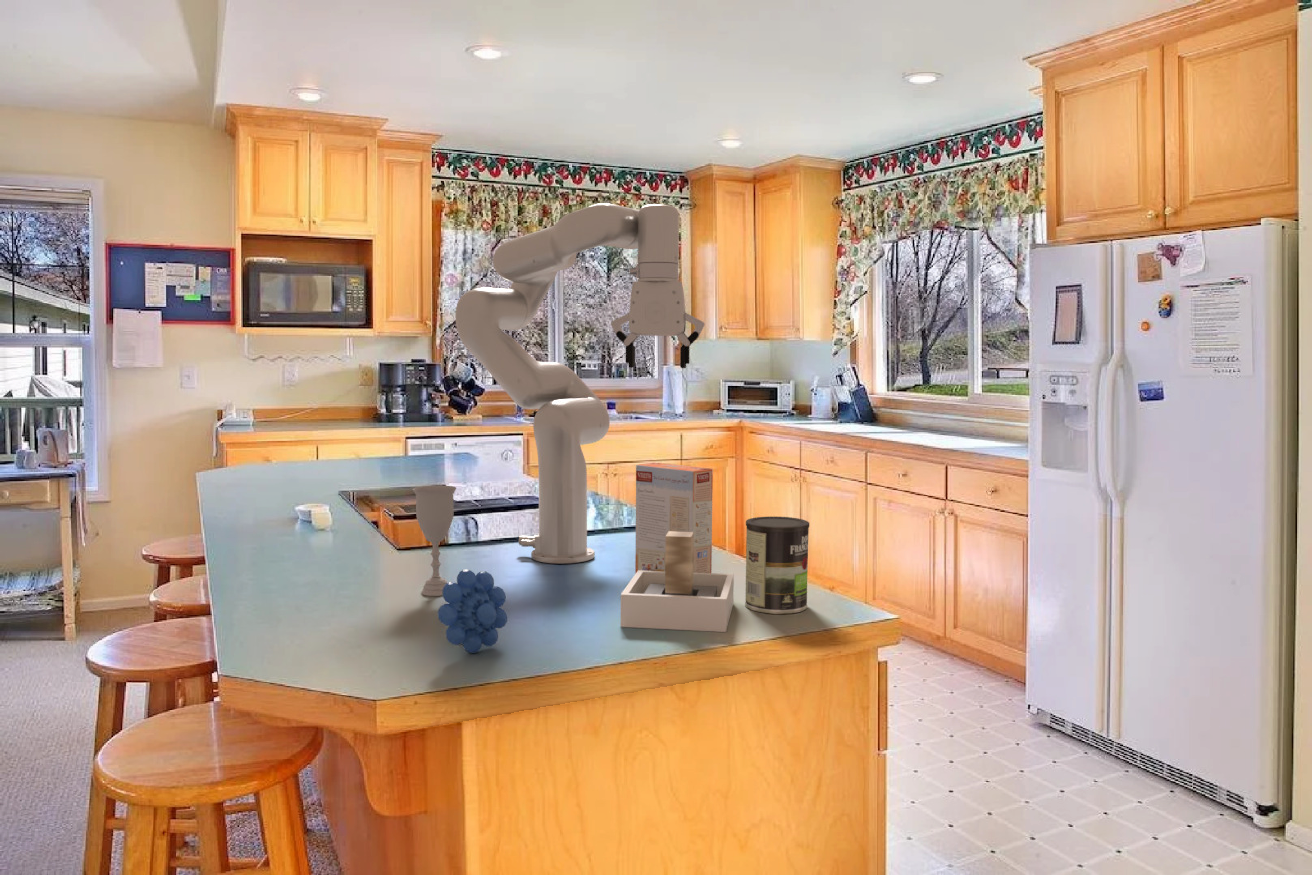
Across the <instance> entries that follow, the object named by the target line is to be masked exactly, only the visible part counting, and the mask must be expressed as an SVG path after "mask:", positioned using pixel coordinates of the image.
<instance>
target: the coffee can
mask: <svg viewBox="0 0 1312 875" xmlns="http://www.w3.org/2000/svg"><path fill="white" fill-rule="evenodd" d="M745 526H746V537H745V538H746V540H745V541H746V544H745V545H746V546H745V602H744V606H745V607H746V608H747V609H749V610H751V611H754V612H757V613H763V614H770V615H771V614H772V615H790V614H796V613H801V612H803V611H806V609H807V608H808V574H809V572H808V568H809V565H808V564H809V562H808V561H809V531H810V529H809V528H810V522H809V521H808V520H805V519H802V518H797V517H792V516H791V517H790V516H789V517H788V516H758V517H757V516H756V517H753V518H752V517H751V518H747V519H746V521H745Z"/></svg>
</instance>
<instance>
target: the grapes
mask: <svg viewBox="0 0 1312 875" xmlns="http://www.w3.org/2000/svg"><path fill="white" fill-rule="evenodd" d="M442 593H443V595H442V597H443V600H444V601H445V602H447V603H444V604H442V605H440V607H439V609H438V611H437V616H438V618H437V619H438V621H439V622H440V624H443V625H444V626H447V627H446V628H447V629H446V630H445V635H446V636H445V637H446V640H447V641H448V643H450V644H451V645H453V646H460V645H462V647H463V649H464V650H465V651H466V652H468V653H469V654H476V653H478V652H479V651H480V650H481V648H482V646H486V647H493V646H494V645H496V644H497V642H498V640H499V631H498V630H497V629H502V628H504V627H505V626H506V624H508V613H507V612H506V611H505V609H504V608H501V607H502V606H503V605H504V604H505V603H506V601H507V597H506V596H507V595H506V592H505V591H504V589H503V588H501V587H500V586H497V585H496V586H495V579H494V577H493V576H492V574H491V573H490V572H487V571H485V570H482V571H479V572H477V573H476V574H475V572H474V571H472V570H470V569H462V570H461V571H459V573H458V574H457V576H456V582H455V581H454V582H453V581H451V582H450V581H448V582H447V584H445V586H444V588H443V590H442Z"/></svg>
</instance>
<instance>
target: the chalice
mask: <svg viewBox="0 0 1312 875" xmlns="http://www.w3.org/2000/svg"><path fill="white" fill-rule="evenodd" d="M456 490H457V486H453V485H423V486H417V487H414V488H412V491H413V493H414V495H415V507H416V508H415V510H416V511H415V513H416V519H417V522H418V525H419V528H420V530H421V532H422V533H423V536H424V538H425V539H426V541H427V542H430V543H431V544H432V551H431V553H430V555H431V558H432V562H431V563H430V566H431V568H432V575H431V577H429V578H427V579H426V580H425V582H424V585H423V586H422V588H423V589H422V590H421V591H420V593H421V595H424V596H428V597H437V596H438V597H439V596H443V593H442V590H443V588H444V586H445V584H447V583H448V581H447V579H446V578H444V577H441V576H442V575H441V574H440V571H439V570H440V566H441V565H442V563H441V562H440V560H439V558H440V555H441V551H440V549H439V544H440V543H441V542H443V541H444V540H445V539H446V536H447V534H448V532H449V530H450V528H451V525H452V522H453V520H454V495H455V492H456Z"/></svg>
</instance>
